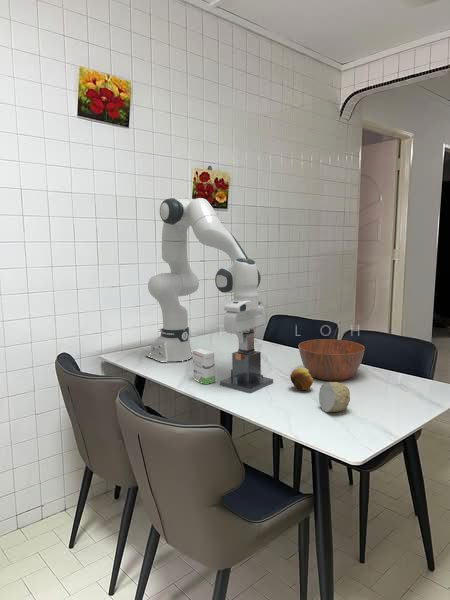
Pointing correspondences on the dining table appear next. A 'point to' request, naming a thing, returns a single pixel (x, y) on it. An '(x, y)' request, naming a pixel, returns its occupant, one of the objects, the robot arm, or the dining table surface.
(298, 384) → the fruit
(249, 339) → the column
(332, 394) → the yellow rounded chunk
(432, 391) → the dining table surface
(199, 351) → the ink box
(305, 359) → the bowl
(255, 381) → the stand
